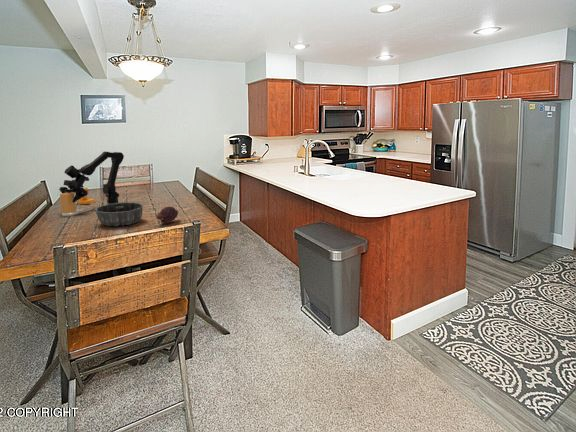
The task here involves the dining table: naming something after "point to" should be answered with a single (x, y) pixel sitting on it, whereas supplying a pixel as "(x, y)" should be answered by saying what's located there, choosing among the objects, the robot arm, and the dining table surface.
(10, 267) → the dining table surface
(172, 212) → the pine cone
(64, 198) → the orange rectangular block
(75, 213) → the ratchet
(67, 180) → the robot arm
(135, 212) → the bundt pan
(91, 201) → the bracket
